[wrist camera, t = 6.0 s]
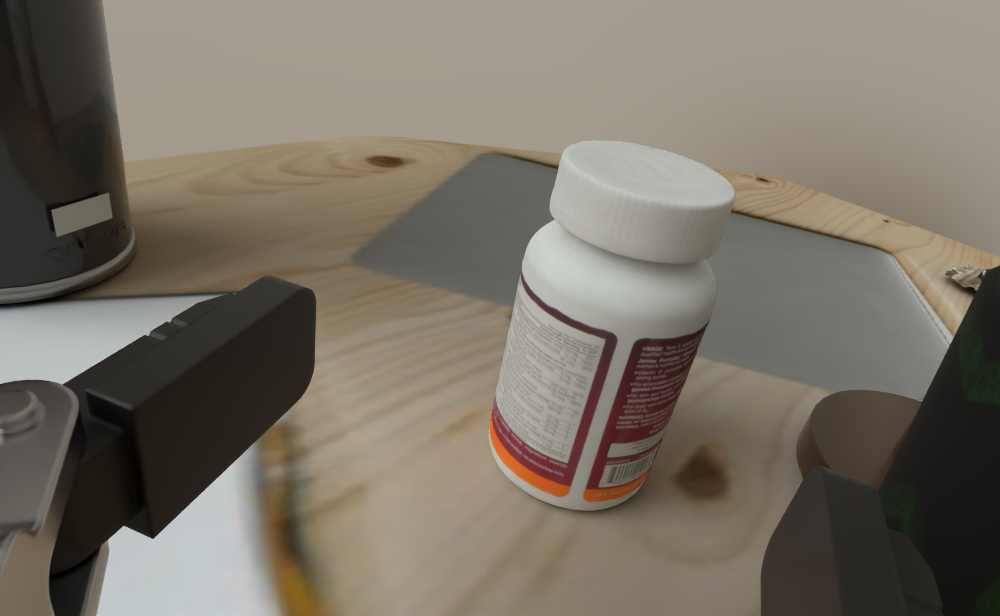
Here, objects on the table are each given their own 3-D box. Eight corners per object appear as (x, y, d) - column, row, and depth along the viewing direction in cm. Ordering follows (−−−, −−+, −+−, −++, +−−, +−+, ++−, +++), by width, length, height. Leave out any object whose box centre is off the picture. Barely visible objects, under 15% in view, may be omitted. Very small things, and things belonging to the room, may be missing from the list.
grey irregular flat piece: (942, 291, 45) (956, 267, 44) (938, 254, 51) (950, 233, 50) (1054, 329, 43) (1072, 305, 42) (1035, 286, 49) (1051, 264, 48)
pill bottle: (638, 418, 27) (734, 158, 21) (652, 535, 22) (782, 231, 16) (494, 387, 27) (551, 120, 22) (473, 497, 22) (539, 182, 16)
